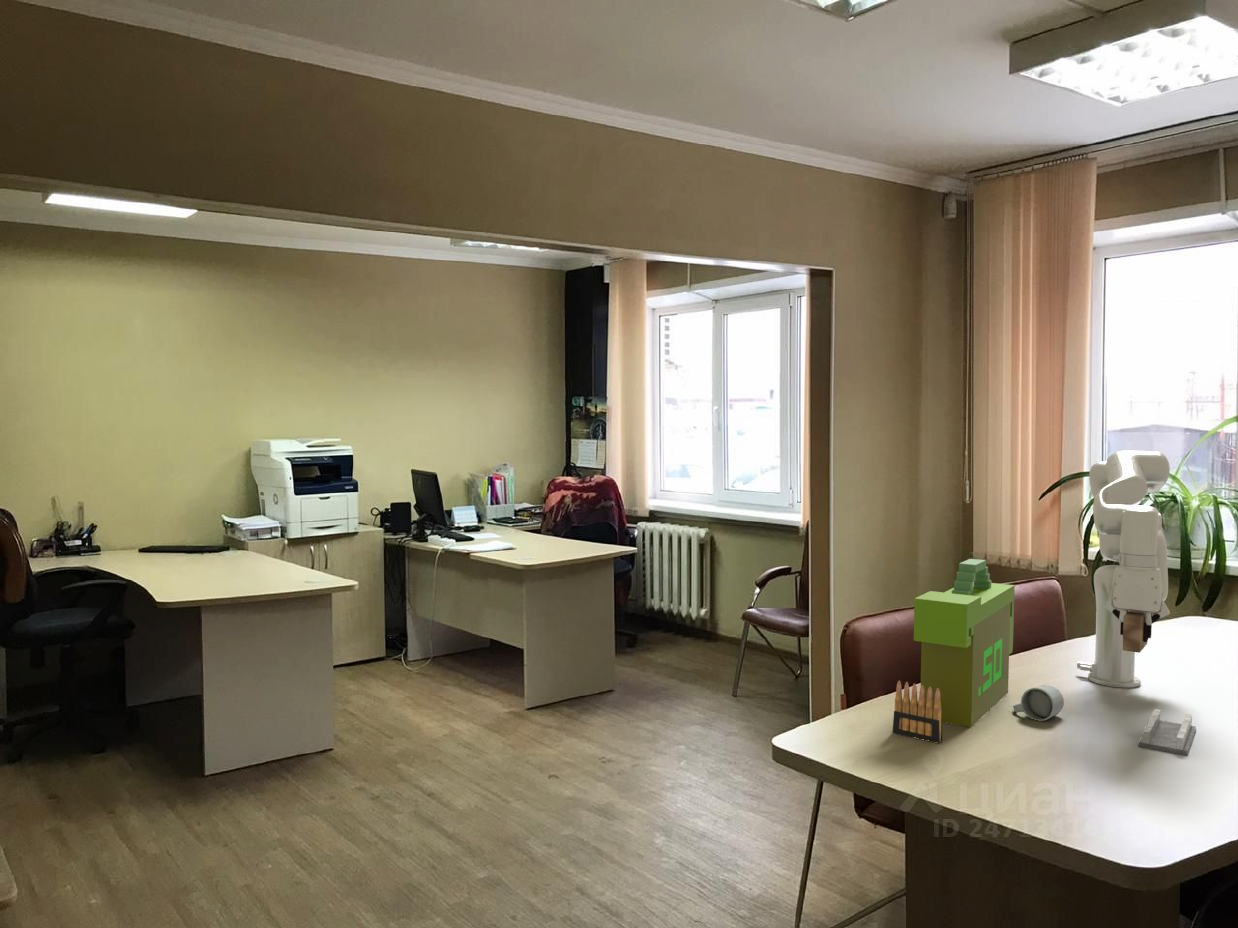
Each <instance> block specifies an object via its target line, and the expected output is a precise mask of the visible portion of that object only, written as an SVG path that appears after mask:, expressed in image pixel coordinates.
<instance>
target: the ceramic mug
mask: <svg viewBox="0 0 1238 928" xmlns="http://www.w3.org/2000/svg"><path fill="white" fill-rule="evenodd" d="M1064 706H1065V699H1064V695H1063V694H1062V692H1061V691H1060V690H1059V689H1058V688H1057V687H1054V686H1053V685H1049V684H1047V685H1046V684H1043V685H1039V686H1035V687H1031V688H1028V689H1027V690H1025V692H1024V693H1022V696H1021V699H1020V703H1017V704H1014V705H1012V708H1013V710H1014V712H1015V713H1019V712H1020V713H1021V712H1023V713H1024V714H1025V715H1026V716H1027V717H1028V718H1030V719H1032V720H1033V719H1034V720H1033V721H1036V720H1038V721H1037V722H1044V721H1048V720H1049V719H1051V718H1053V717H1054V716H1057V715H1058V714H1059V713H1060V712H1062V710H1063V708H1064Z"/></svg>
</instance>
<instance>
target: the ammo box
mask: <svg viewBox="0 0 1238 928" xmlns="http://www.w3.org/2000/svg"><path fill="white" fill-rule="evenodd" d="M953 582H954V583H953V585H954V586H953V587H952V588H950V589H948V590H946V591H944V592H942V591H941V592H940V591H933V590H932V591H931V590H930V591H927V592H926V593H923V594H922V595H919V596H917V597H915V598H914V606H913V607H914V609H913V610H914V614H913V615H914V616H913V641H914V642H921V648H920V650H921V653H920V654H921V655H920V656H921V657H920V686H921V685H923V686H924V690H925V703H926V702H927V692H928V688H929V686H931V689H932V694H933V708H934V701H935V693H936V689H937V688H939V691H940V701H941V719H942V723H944V722H948V723H947V724H950V723H952V724H951V725H955V724H959V725H958V726H960V725H963V726H962V727H965V726H968V727H967V728H972V727H973V726H975V724H977V723H978V722H979V721H980V720H981V719H982V718H983V717H984V716H985V715H986V714H987V713H988V712H989V711H990V710H991V709H992V708H994V706H995V705H997V703H998V702H999V701H1001V700H1002V699H1003V697H1005V696H1006V695H1007V694H1008V692H1009V677H1010V676H1009V668H1010V654H1011V655H1012V653H1013V651H1014V650H1013V649H1014V624H1015V623H1014V621H1015V620H1014V616H1015V615H1014V613H1015V584H1007V583H994V582H992V580H991V575H990V573H989V566H987V560H986V559H975V558H968V559H967V560H964V561H962V562H960V563H958V571H957V572H956V580H954V581H953ZM990 708H991V709H990ZM989 709H990V710H989ZM988 710H989V711H988ZM987 711H988V712H987ZM986 712H987V713H986ZM985 713H986V714H985ZM984 714H985V715H984ZM983 715H984V716H983ZM982 716H983V717H982ZM981 717H982V718H981ZM980 718H981V719H980ZM979 719H980V720H979Z"/></svg>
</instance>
